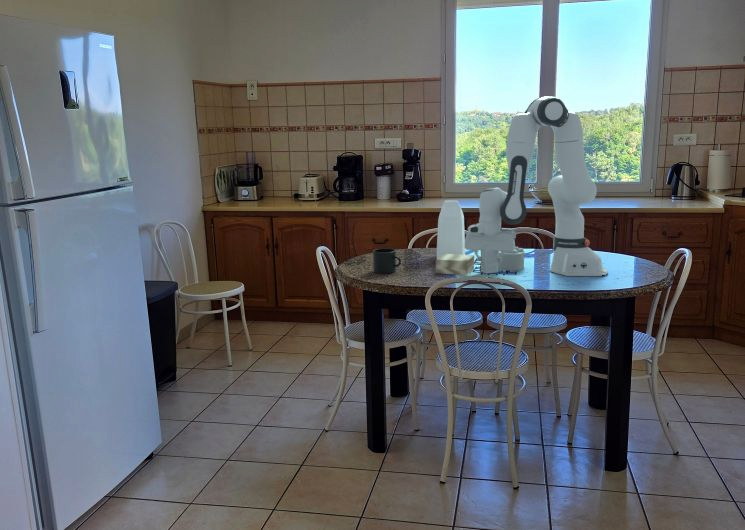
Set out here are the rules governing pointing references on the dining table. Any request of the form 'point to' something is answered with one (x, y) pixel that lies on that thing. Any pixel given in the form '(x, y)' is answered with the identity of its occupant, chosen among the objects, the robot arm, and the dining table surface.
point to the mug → (385, 261)
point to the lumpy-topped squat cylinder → (512, 260)
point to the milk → (451, 230)
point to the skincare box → (489, 259)
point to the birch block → (455, 264)
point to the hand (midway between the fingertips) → (489, 261)
